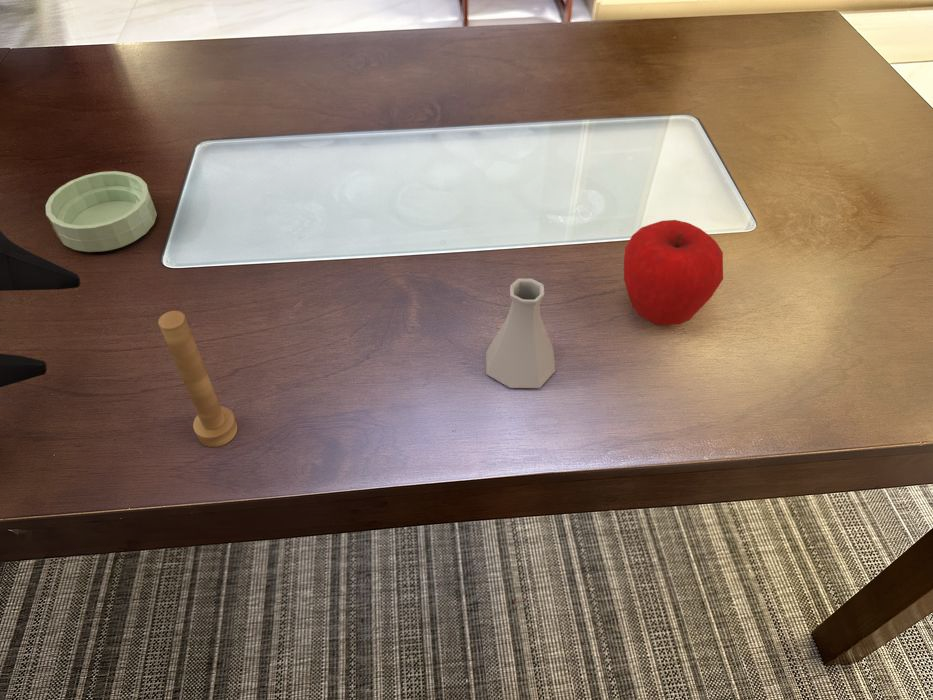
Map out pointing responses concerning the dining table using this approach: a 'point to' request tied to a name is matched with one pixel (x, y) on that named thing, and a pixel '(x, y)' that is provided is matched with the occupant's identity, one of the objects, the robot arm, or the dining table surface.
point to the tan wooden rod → (197, 383)
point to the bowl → (101, 211)
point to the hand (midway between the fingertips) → (63, 322)
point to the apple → (671, 271)
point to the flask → (522, 341)
